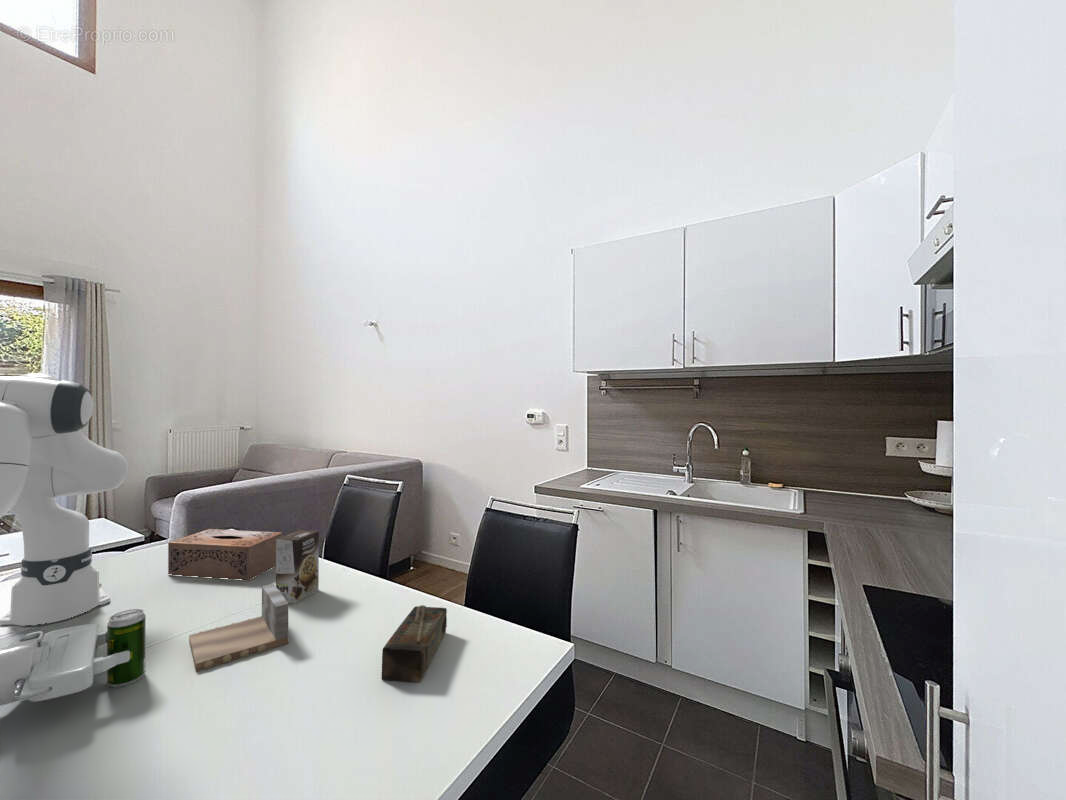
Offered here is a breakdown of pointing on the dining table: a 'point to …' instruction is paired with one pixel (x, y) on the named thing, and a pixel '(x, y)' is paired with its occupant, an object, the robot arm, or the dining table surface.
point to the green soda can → (126, 646)
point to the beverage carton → (414, 644)
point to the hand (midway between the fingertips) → (130, 643)
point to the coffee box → (297, 565)
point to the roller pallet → (243, 634)
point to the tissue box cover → (223, 554)
